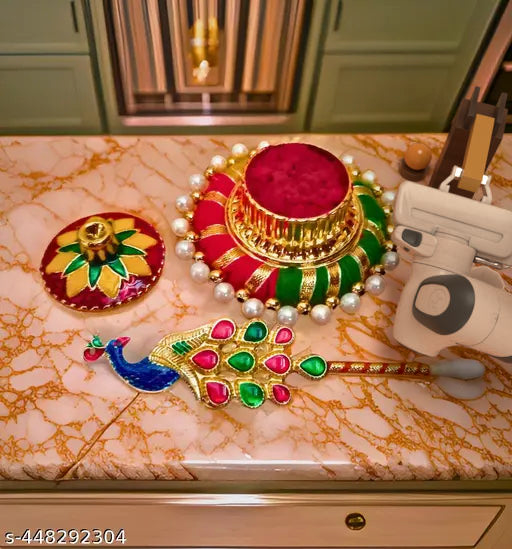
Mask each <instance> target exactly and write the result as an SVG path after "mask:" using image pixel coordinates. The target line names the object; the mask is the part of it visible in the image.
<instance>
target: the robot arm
mask: <svg viewBox="0 0 512 549" xmlns="http://www.w3.org/2000/svg"><path fill="white" fill-rule="evenodd" d="M462 171H463V168H462V167H459V166H456V165H454V167H453V169H452V171H451V174H450V176H449V177H448V178H447V179H446V180H445V181H443V182H442V183H441V184H440V186H439V188H438V189H435V188H432V187H428V185H424V184H421V183H417V182H414V181H409V180H404V181H403V182H400V184H399V185H398V188H397V191H396V195H395V199H394V203H393V207H392V208H393V209H392V216H391V218H392V224H393V226H394V229H393V230H392V232H391V234H390V240H391V242H392V243H393V244H395V246H397V247H398V248H400V249H401V250H403V251H405V252H406V253H408V254H409V255H411V256H412V261H411V264H410V274H409V277H408V280H407V282H406V283H405V285H404V286H403V288H402V290H401V294H400V298H399V300H398V303H397V307H396V311H395V316H394V320H393V327H392V336H393V338H394V340H395V341H396V342H397V343H398V344H399V345H400V346H402V347H403V348H404V349H407V350H409V351H412V352H413V353H415V354H418V355H420V356H423V357H427V358H435V357H437V356H438V355H439V353H440V351H442V350H444V349H446V348H450V347H454V346H460V345H461V346H463V347H466V348H469V349H472V350H475V351H478V352H481V353H483V354H486V355H488V356H489V357H492V358H493V359H496V360H498V361H501V362H503V363H505V364H512V292H509V291H507V290H504V289H503V290H502V289H499V288H497V287H494V286H492V285H490V284H488V283H485V282H483V281H480V280H478V279H475V278H472V277H469V273H470V270H471V267H473V264H476V265H480V266H487V267H489V268H491V269H492V270H495V271H496V270H497V271H502V270H507V269H511V268H512V210H510V209H507V208H503V207H500V206H497V205H493V204H492V201H493V195H492V191H491V187H490V183H491V180H492V175H490V174H487V173H485V174H484V175H483V180H482V183H481V185H480V186H479V188H481V190H482V195H483V196H482V197H481V198H479V200H476V199H473V198H472V199H469V198H466V197H462V196H459V195H456V194H452V193H449V192H448V190H449V187H450V186H449V185H447V184H448V183H450V182H451V181H452V180H453V179H455V180H459V179H460V178H461V175H462V173H461V172H462Z"/></svg>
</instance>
